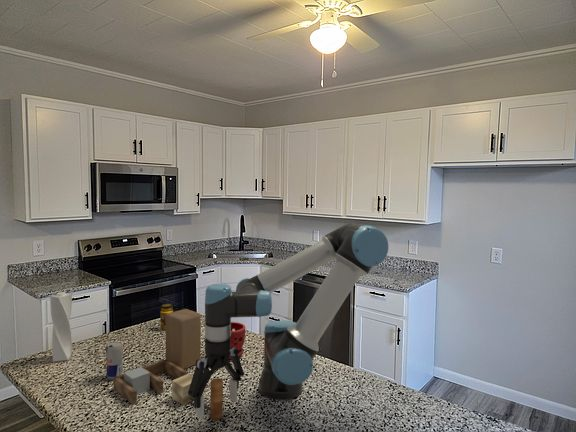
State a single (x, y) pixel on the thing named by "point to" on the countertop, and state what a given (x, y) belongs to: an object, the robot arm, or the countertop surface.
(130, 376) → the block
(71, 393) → the countertop surface
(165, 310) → the condiment
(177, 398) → the corded block
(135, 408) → the countertop surface
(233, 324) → the plant pot
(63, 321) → the skyscraper
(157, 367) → the lane rack
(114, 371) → the energy drink
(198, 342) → the wooden block
